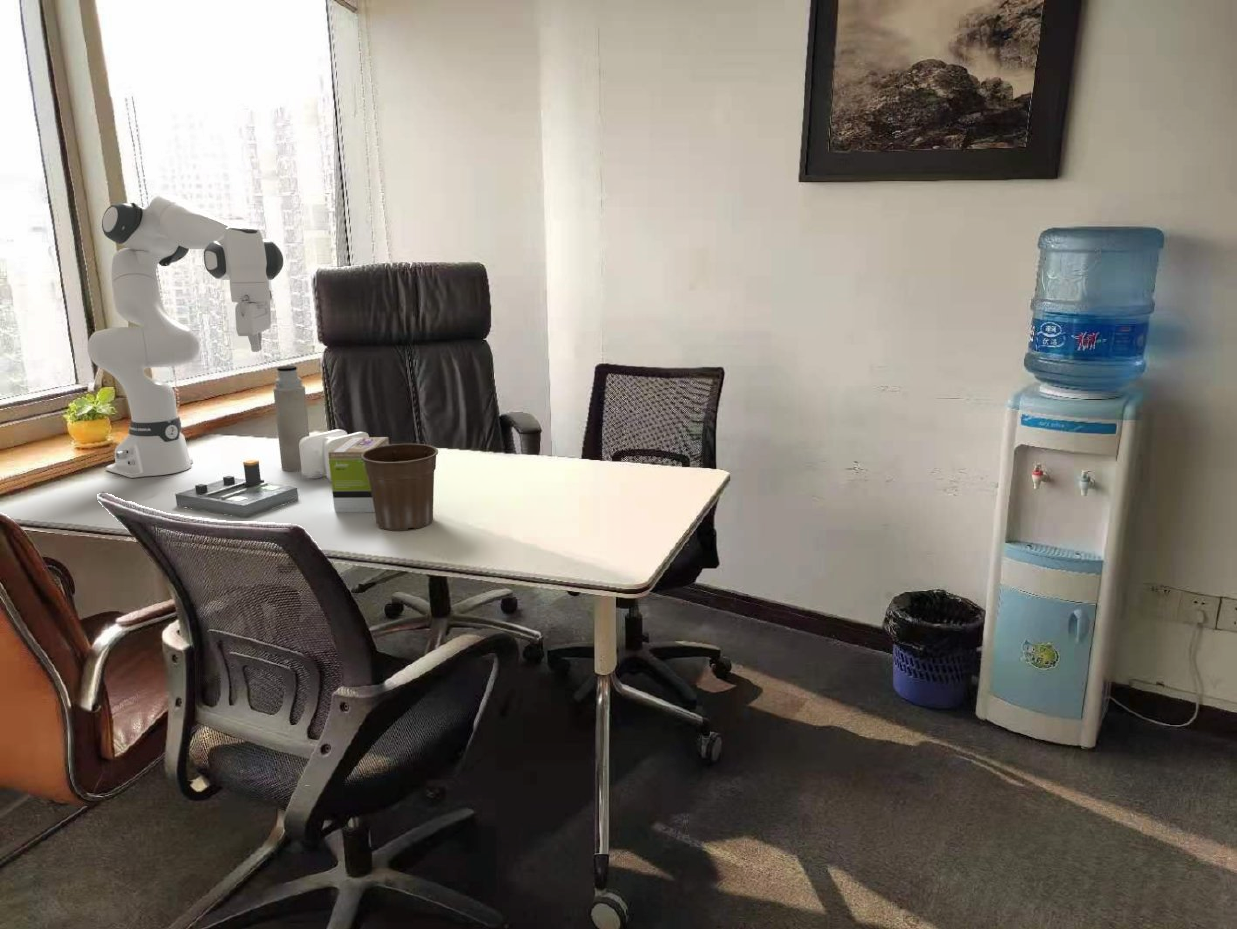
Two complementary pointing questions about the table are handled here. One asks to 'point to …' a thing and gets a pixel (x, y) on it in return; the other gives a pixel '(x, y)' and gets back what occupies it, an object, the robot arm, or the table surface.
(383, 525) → the plant pot
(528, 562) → the table surface
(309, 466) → the cable organizer
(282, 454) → the thermos bottle
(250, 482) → the breaker lever
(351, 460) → the tea box
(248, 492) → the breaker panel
